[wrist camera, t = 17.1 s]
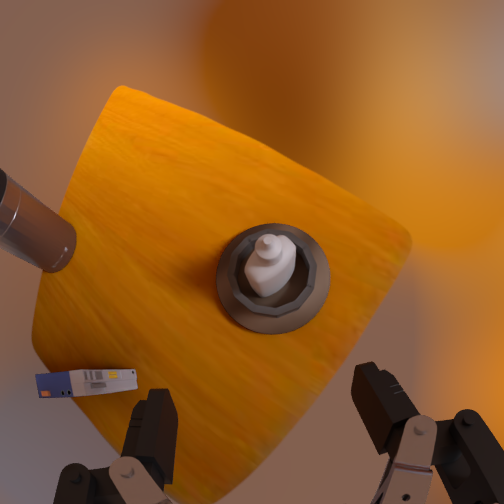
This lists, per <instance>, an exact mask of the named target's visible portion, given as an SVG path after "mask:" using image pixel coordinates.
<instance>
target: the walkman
mask: <svg viewBox="0 0 504 504" xmlns="http://www.w3.org/2000/svg"><path fill="white" fill-rule="evenodd" d="M136 379H137V376H136V371H135V369H123V370H73V371H65V372H56V373H46V374H36V382H37V387H38V393H39V398H56V397H57V398H59V397H77V396H88V395H97V394H105V393H113V392H120V391H127V390H133V389H138V386H137V382H136Z"/></svg>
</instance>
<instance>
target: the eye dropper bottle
mask: <svg viewBox="0 0 504 504" xmlns="http://www.w3.org/2000/svg"><path fill="white" fill-rule="evenodd" d="M295 258H296V246H295V245H294V243H293V242H292V241H291V240H290V239H288V238H287V237H286V236H284V235H278V236H275V235H272V234H265V235H262V236H261V237H260V238H259V239H258V240H257V241H256V243H255V250H254V251H253V253H252V254H251V256H250V257H249V259H248V261H247V263H246V265H245V274H246V277H247V279H248V281H249V283H250V285H251V287H252V289H253V290H254V291H255V292H256V293H257V294H258V295H259V296H260V297H267V296H270V295H272V294H274V293H276V292H277V291H279V290H280V289H281V288H282V287H283V286H284V285H285V284H286V283H287V282H288V280H289V279H290V277H291V276H292V274H293V271H294V268H295Z"/></svg>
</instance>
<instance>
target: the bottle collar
mask: <svg viewBox="0 0 504 504" xmlns="http://www.w3.org/2000/svg"><path fill="white" fill-rule="evenodd" d="M265 234H272V235H275V236H278V235H284V236H286V237H287V238H288V239H290V240H291V241H292V242H293V243H294V245H295V246H296V258H295V268H294V271H293V274H292V276H291V277H290V279H289V280H288V282H287V283H286V284H285V285H284V286H283V287H282V288H281V289H280V290H279V291H277V292H276V293H274V294H272V295H270V296H267V297H260V296H259V295H258V294H257V293H256V292H255V291H254V290H253V289H252V287H251V285H250V283H249V281H248V279H247V277H246V274H245V265H246V263H247V261H248V259H249V257H250V256H251V254H252V253H253V251H254V250H255V243H256V241H257V240H258V239H259V238H260V237H261V236H262V235H265ZM216 285H217V291H218V295H219V298H220V300H221V303H222V304H223V306H224V308H225V310H226V311H227V312H228V313H229V315H230V316H231V317H232V318H233V319H234V320H235V321H237V322H238V323H240V324H241V325H242V326H244V327H246V328H248V329H250V330H252V331H255V332H259V333H263V334H282V333H287V332H291V331H294V330H296V329H298V328H300V327H302V326H303V325H305V324H306V323H308V322H309V321H310V320H311V319H312V318H313V317H314V316H315V315H316V314H317V313H318V312H319V310H320V309H321V307H322V306H323V304H324V302H325V300H326V298H327V295H328V292H329V286H330V269H329V265H328V261H327V258H326V256H325V254H324V252H323V250H322V249H321V247H320V246H319V245H318V243H317V242H316V241H315V240H314V239H313V238H312V237H311V236H309V235H308V234H307V233H305V232H303V231H302V230H300V229H298V228H295V227H292V226H289V225H285V224H276V223H272V224H263V225H259V226H255V227H252V228H250V229H248V230H246V231H244V232H243V233H241V234H240V235H238V236H237V237H236V238H235V239H234V240H233V241H232V242H231V243H230V244H229V245H228V246H227V248H226V249H225V251H224V252H223V254H222V256H221V258H220V261H219V264H218V267H217V273H216Z"/></svg>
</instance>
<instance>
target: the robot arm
mask: <svg viewBox="0 0 504 504" xmlns="http://www.w3.org/2000/svg"><path fill="white" fill-rule="evenodd" d="M75 245H76V233H75V230H74V228H73V226H72V225H71V224H70V223H68V222H67V221H66V220H64V219H63V218H62V217H60V216H59V215H58V214H56V213H55V212H54V211H52V210H51V209H50V208H48V207H47V206H46V205H44V204H43V203H42V202H41V201H39V200H38V199H37V198H36V197H34V196H33V195H32V194H31V193H29V192H28V191H27V190H26V189H24V188H23V187H22V186H21V185H19V184H18V183H17V182H16V181H14V180H13V179H12V178H11V177H10V176H8V175H7V174H6V173H5V172H4V171H3V170H1V169H0V248H1V249H3V250H5V251H7V252H9V253H11V254H13V255H15V256H17V257H19V258H21V259H23V260H25V261H27V262H28V263H31V264H32V265H34V266H37V267H39V268H41V269H43V270H45V271H47V272H50V273H54V272H57V271H59V270H61V269H62V268H64V267H65V266H66V264H67V263H68V262H69V260H70V259H71V257H72V255H73V252H74V249H75ZM351 395H352V399H353V402H354V404H355V406H356V408H357V410H358V412H359V414H360V416H361V419H362V420H363V423H364V425H365V427H366V429H367V431H368V433H369V435H370V437H371V439H372V441H373V443H374V445H375V448H376V450H377V452H378V454H379V455H380V454H383V453H386V452H388V454H389V459H388V462H387V465H386V468H385V471H384V473H383V476H382V479H381V481H380V484H379V487H378V489H377V491H376V494H375V496H374V498H373V500H372V501H371V504H425V502H426V499H427V495H428V491H429V488H430V484H431V479H432V474H433V471H432V470H430V466H431V465H435V468H436V470H437V472H438V474H439V476H440V478H441V480H442V482H443V484H444V486H445V488H446V490H447V492H448V495H449V497H450V499H451V501H452V504H504V450H503V449H502V447H501V446H500V444H499V443H498V441H497V440H496V438H495V437H494V435H493V434H492V432H491V431H490V430H489V428H488V426H487V425H486V424H485V422H484V421H483V419H482V418H481V416H480V415H479V414H478V413H477V412H475V411H473V410H470V409H465V410H461V411H459V412H458V413H457V414H456V416H455V417H454V419H451V420H444V421H434V420H433V419H431V418H430V417H428V416H425V415H420V413H419V412H418V411H417V409H416V408H415V406H414V405H413V403H412V402H411V400H410V399H409V397H408V396H407V394H406V393H405V392H404V391H403V388H402V387H401V385H399V383H398V381H397V380H396V378H395V377H394V375H392V374H391V373H389V372H388V371H386V370H382V371H379V369H378V368H377V366H376V364H375V363H374V362H367V363H363V364H359V365H356V367H355V370H354V376H353V382H352V387H351ZM177 429H178V415H177V411H176V408H175V406H174V403H173V400H172V398H171V395H170V392H169V390H168V389H150V390H149V394H148V398H147V400H140V401H139V402H138V403H137V405H136V406H135V407H134V408H133V411H132V415H131V420H130V422H129V428H128V430H127V434H126V438H125V442H124V446H123V450H122V454H121V457H120V458H118V459H116V460H115V461H114V462H113V463H112V464H111V465H110V467H107V468H100V469H93V470H88V469H87V468H86V467H85V466H84V465H82V464H78V463H73V464H70V465H68V466H66V467H65V468H64V469H63V470H62V472H61V474H60V478H59V482H58V486H57V490H56V494H55V498H54V502H53V504H172V502H171V501H170V500H169V499H168V497H167V496H166V495H165V494H164V493H163V491H164V484H172V482H173V470H174V458H175V448H176V438H177Z"/></svg>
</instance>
